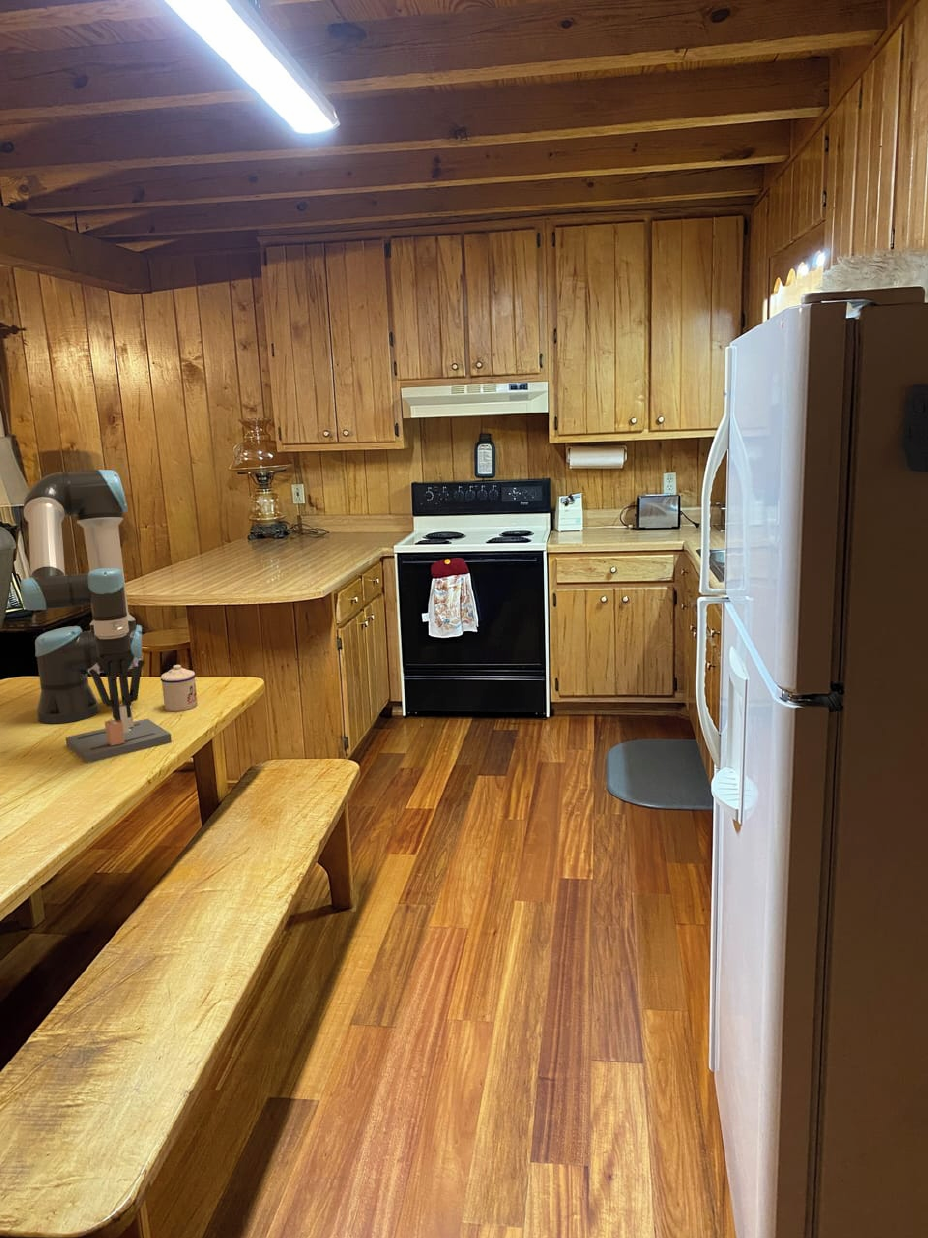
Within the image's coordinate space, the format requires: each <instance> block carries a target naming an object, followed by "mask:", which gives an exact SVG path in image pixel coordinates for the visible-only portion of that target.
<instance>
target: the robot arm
mask: <svg viewBox="0 0 928 1238" xmlns="http://www.w3.org/2000/svg"><path fill="white" fill-rule="evenodd" d="M128 511H129V509H128V505H127V500H126V496H125V492H124V489H123V485H122V482H121V479H120V476H119V474H118V472H117V471H115V470H107V469H103V470H102V469H96V470H80V471H79V470H78V471H64V472H63V471H59V472H52V473H50V474H48V475H46V476H44V477H42V478H41V479H39V480H38V481H36V483H35V484H33V485H32V486H31V488H30V489H29V490H28V492H27V493H26V496H25V499H24V502H23V517H24V519H25V520H26V521H27V522H28V540H29V541H28V544H29V545H28V546H29V547H28V548H29V566H30V567H29V570H30V572H29V574H30V577H27V578H24V579H22V580H21V582H20V593H21V595H20V596H21V600H22V605H23V608H24V609H25V610H27V611H46V610H53V609H60V608H69V607H70V608H71V607H78V606H79V607H83V606H90V608H91V615H92V617H91V618H92V620H91V622H90V623H89V629H90V630H86V631H83V629H82V628H81V626H78V625H74V626H65V627H60V628H55V629H52V630H49V631H46V632H44V633H42V634H40V635H39V636H37V637H36V639H35V642H34V645H35V653H34V654H35V655H34V656H35V657H36V661H37V668H38V676H39V685H40V694H39V699H38V705H37V710H36V714H37V720H38V721H39V722H40V723H45V724H64V723H65V724H66V723H72V722H77V721H78V722H79V721H81V720H84V719H85V720H86V719H87V718H88V719H89V717H90V718H91V717H92V716H94V715H96V714H97V713H98V712H99V710H100V709H99V703H98V700H97V698H96V695H95V694H94V693H93V690H92V688H91V686H90V685H89V678H88V675H90V677H91V678H92V680H93V682H94V685H95V687H96V689H97V692H98V694H99V697H100V701H101V702H102V704H104V706H105V707H107V708H108V707H111V709H112V717H113V720H114V719H115V720H120V721H121V722H122V724H123V732H124V733H128V732H129V726H128V718H129V717H131V708H130V707H131V705H132V703H133V702H136V701H137V700H138V699H139V691H140V684H141V676H142V675H141V674H142V670H143V667H144V665H145V660H143V659H142V657H143V655H142V654H143V653H142V652H143V626H142V625H140V624H137V622H136V618H135V617H133V616H132V615H130V612H129V605H128V598H127V592H126V591H127V590H126V589H127V588H126V582H125V575H124V571H125V570H124V565H123V556H122V548H121V541H120V532H119V531H120V530H119V526H120V524H121V522H122V521H123V520H124V516H123V514H126V513H128ZM65 517H75V518H76V524H78V525H79V526H80V527H82V528H83V531H84V539H85V548H86V555H87V562H88V564H87V565H88V573H87V572H86V573H76V574H66V573H65V572H66V571H65V560H64V559H65V557H64V545H63V544H64V543H63V533H62V531H63V529H62V522H63V521H64V519H65ZM131 669H132V670H131ZM129 670H131V677H130V679H131V680H130V685H129V681H128V676H129V675H128V671H129ZM102 673H105V674H106V678H107V682H108V683H107V684H108V691H109V694H108V692H107V690H106V687H105V685H104V681H103V680H102V678H101V675H100V674H102ZM117 675H118V676H117ZM117 677H118V679H119V688H120V689H119V690H120V696H121V697H120V698H121V703H120V698H119V690H118V683H117ZM129 686H130V687H129Z"/></svg>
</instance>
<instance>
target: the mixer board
mask: <svg viewBox="0 0 928 1238" xmlns="http://www.w3.org/2000/svg"><path fill="white" fill-rule="evenodd" d="M133 723H134V727H130V728H129V732H128V733H124V741H125V742H124V743H120V744H116V745H110V744H109V743H108V742H107V738H106V730H105V728H100V729H97V730H92V731H88V732H84V733H80V734H76V735H71V736H67V737H65V743H66V747H68V748H69V749H70V750H71V751H72V752H73V753H75V754H76V755H77V756H78V757H79V758H80V759H81V760H82V761H83V762H85V763H86V764H89V763H93V762H98V761H101V760H105V759H110V758H112V757H117V756H121V755H125V754H129V753H133V752H137V751H142V750H145V749H149V748H152V747H156V746H161V745H165V744H169V743H172V741H173V740H172V733H170V732H169V731H167V730H166V729H164V728H162V727H161V726H159V725H158V724H156V723H155V722H154V721H152V720H150V719H149V718H144V719H140V720H135V721H133Z"/></svg>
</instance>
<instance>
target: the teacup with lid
mask: <svg viewBox="0 0 928 1238" xmlns="http://www.w3.org/2000/svg"><path fill="white" fill-rule="evenodd" d="M196 675H197V674H196V673H195V671H194V670H189V669H186V668H183V667H182V666H181V664H174V665H173V667H172V668H171V669H170V670H168V671H167V672H165V673H163V674H162V675H161V676H160V681H161V685H162V693H163V695H162V696H163V704H164V709H165V710H166V711H170V712H183V710H184V711H187V710H191V709H194V708H196V707H197V706H198V695H197V685H196Z"/></svg>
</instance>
